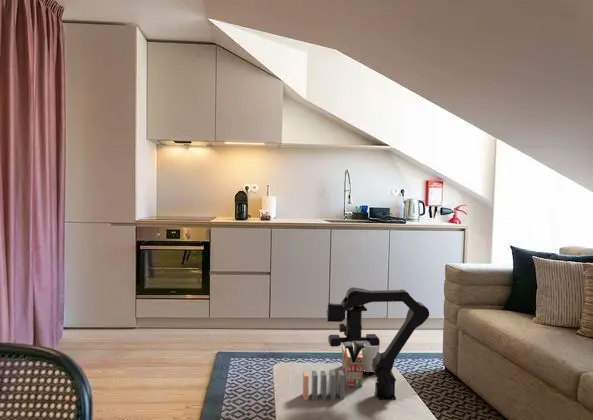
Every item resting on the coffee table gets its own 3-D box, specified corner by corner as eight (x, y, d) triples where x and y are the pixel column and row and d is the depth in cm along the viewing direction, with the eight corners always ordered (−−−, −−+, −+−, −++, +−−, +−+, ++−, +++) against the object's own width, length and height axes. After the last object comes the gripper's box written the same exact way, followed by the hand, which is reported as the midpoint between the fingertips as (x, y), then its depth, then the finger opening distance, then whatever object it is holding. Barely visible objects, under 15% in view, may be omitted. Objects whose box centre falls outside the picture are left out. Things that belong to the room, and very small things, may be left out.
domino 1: (306, 394, 173) (307, 370, 173) (308, 399, 169) (308, 376, 168) (302, 394, 173) (303, 371, 173) (303, 399, 169) (304, 376, 168)
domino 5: (341, 393, 175) (342, 370, 174) (344, 398, 170) (344, 375, 169) (337, 393, 174) (338, 370, 174) (340, 398, 170) (340, 375, 169)
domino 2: (315, 393, 174) (316, 370, 173) (317, 399, 169) (317, 375, 169) (311, 393, 174) (311, 370, 173) (313, 399, 169) (313, 376, 168)
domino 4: (333, 393, 174) (333, 370, 174) (335, 399, 170) (335, 375, 169) (329, 393, 174) (329, 370, 174) (331, 399, 169) (331, 375, 169)
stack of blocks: (341, 365, 202) (342, 338, 201) (356, 365, 202) (356, 338, 201) (347, 386, 181) (347, 356, 180) (362, 387, 181) (363, 356, 180)
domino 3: (324, 393, 174) (324, 370, 174) (326, 399, 169) (326, 375, 169) (320, 393, 174) (320, 370, 173) (322, 399, 169) (322, 375, 169)
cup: (382, 369, 198) (382, 342, 197) (375, 375, 191) (375, 347, 190) (365, 365, 202) (365, 339, 201) (357, 371, 195) (358, 344, 195)
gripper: (372, 315, 180) (372, 354, 181) (326, 316, 178) (325, 355, 179) (380, 323, 169) (379, 365, 170) (330, 324, 167) (330, 366, 168)
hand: (353, 362), depth 172 cm, fingers closed
